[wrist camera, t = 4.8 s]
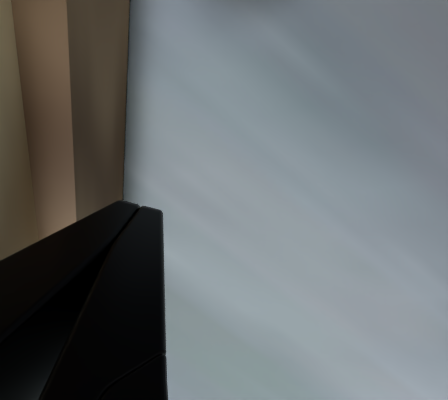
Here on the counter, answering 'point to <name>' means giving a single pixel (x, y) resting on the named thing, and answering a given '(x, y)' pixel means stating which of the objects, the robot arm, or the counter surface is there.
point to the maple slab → (13, 149)
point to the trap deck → (73, 104)
